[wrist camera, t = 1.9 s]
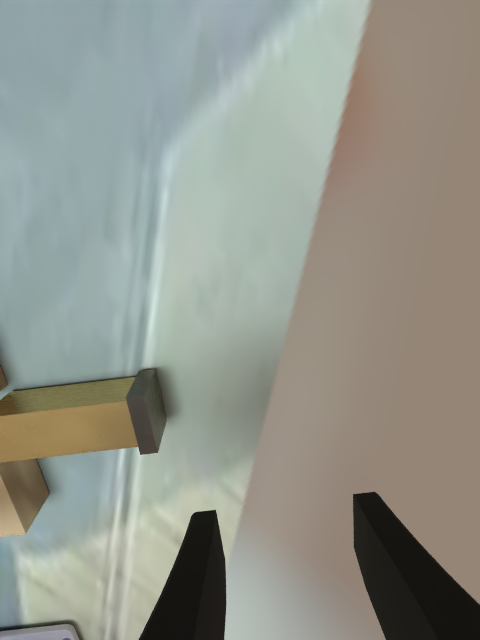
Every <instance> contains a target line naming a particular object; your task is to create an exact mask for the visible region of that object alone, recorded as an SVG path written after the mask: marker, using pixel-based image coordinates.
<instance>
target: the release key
mask: <svg viewBox="0 0 480 640" xmlns="http://www.w3.org/2000/svg"><path fill="white" fill-rule="evenodd" d="M165 424H166V416H165V412H164V407H163V403H162V398H161V394H160V389H159V385H158V380H157V376H156V371H155V369H152V370H143V371H139V372H138V374H137V376H136V377H131V378H123V379H114V380H106V381H97V382H89V383H81V384H72V385H64V386H55V387H47V388H38V389H30V390H22V391H13V392H9V393H8V394H7V395H6V396H4V397H3V398H2V399H1V400H0V463H1V462H9V461H18V460H27V459H35V458H44V457H53V456H61V455H70V454H78V453H87V452H96V451H104V450H113V449H121V448H130V447H139V451H140V455H142V454H151V453H158V450H159V447H160V443H161V439H162V436H163V432H164V428H165Z"/></svg>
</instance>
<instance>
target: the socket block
mask: <svg viewBox="0 0 480 640" xmlns="http://www.w3.org/2000/svg"><path fill="white" fill-rule="evenodd" d="M7 385H8V384H7V382H6V379H5V377H4V374H3V371H2V369H1V366H0V391H1V390H2V389H3V388H5V387H6V386H7ZM48 496H49V491H48V489H47V486H46V484H45V481H44V478H43V476H42V473H41V471H40V468H39V465H38V463H37V460H36V458H35V459H27V460H18V461H9V462H1V463H0V537H3V536H11V535H20V534H26V533H27V531H28V529H29V528H30V526H31V524H32V523H33V521H34V519H35V518H36V516H37V514H38V512H39V511H40V509H41V507H42V506H43V504H44V502H45V501H46V499H47V497H48Z"/></svg>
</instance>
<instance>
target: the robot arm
mask: <svg viewBox="0 0 480 640" xmlns="http://www.w3.org/2000/svg"><path fill="white" fill-rule="evenodd" d="M353 514H354V549H355V552H356V556H357V559H358V563H359V566H360V570H361V573H362V576H363V580H364V583H365V587H366V589H367V592H368V594H369V597H370V600H371V602H372V605H373V608H374V610H375V613H376V615H377V618H378V620H379V623H380V625H381V628H382V631H383V633H384V635H385V638H386V640H480V605H479V604H478V603H477V602H476V601H475V600H474V599H473V598H472V597H471V596H470V595H469V594H468V593H467V592H466V591H465V590H464V589H463V588H462V587H461V586H460V585H459V584H458V583H457V582H456V581H455V580H454V579H453V578H452V577H451V576H450V575H449V574H448V573H447V572H446V571H445V570H444V569H443V568H442V567H441V566H440V565H439V563H438V562H437V561H436V560H435V559H434V558H433V557H432V556H431V555H430V554H429V553H428V552H427V551H426V550H425V549H424V548H423V546H422V545H421V544H420V543H419V542H418V541H417V540H416V539H415V538H414V537H413V535H412V534H411V533H410V532H409V531H408V530H407V528H406V527H405V526H404V525H403V524H402V523H401V521H400V520H399V519H398V518H397V517H396V516H395V514H394V513H393V512H392V511H391V510H390V508H389V507H388V506H387V505H386V504H385V502H384V501H383V500H382V499H381V497H380V496H379V495H378V494H377V493H375V492H370V493H361V494H353ZM225 615H226V570H225V557H224V552H223V546H222V541H221V535H220V530H219V524H218V519H217V513H216V510H211V511H202V512H195V513H194V514H193V515H192V516H191V519H190V522H189V525H188V528H187V531H186V534H185V537H184V540H183V542H182V545H181V548H180V550H179V553H178V555H177V558H176V560H175V563H174V565H173V568H172V570H171V572H170V574H169V577H168V579H167V581H166V584H165V586H164V588H163V591H162V593H161V595H160V597H159V599H158V601H157V604H156V606H155V608H154V610H153V612H152V614H151V616H150V618H149V620H148V622H147V624H146V626H145V628H144V630H143V632H142V634H141V636H140V638H139V640H224V632H225ZM0 640H79V638H78V636H77V633H76V631H75V629H74V627H73V626H72V625H69V624H62V625H53V626H44V627H35V628H26V629H16V630H7V631H0Z"/></svg>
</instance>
